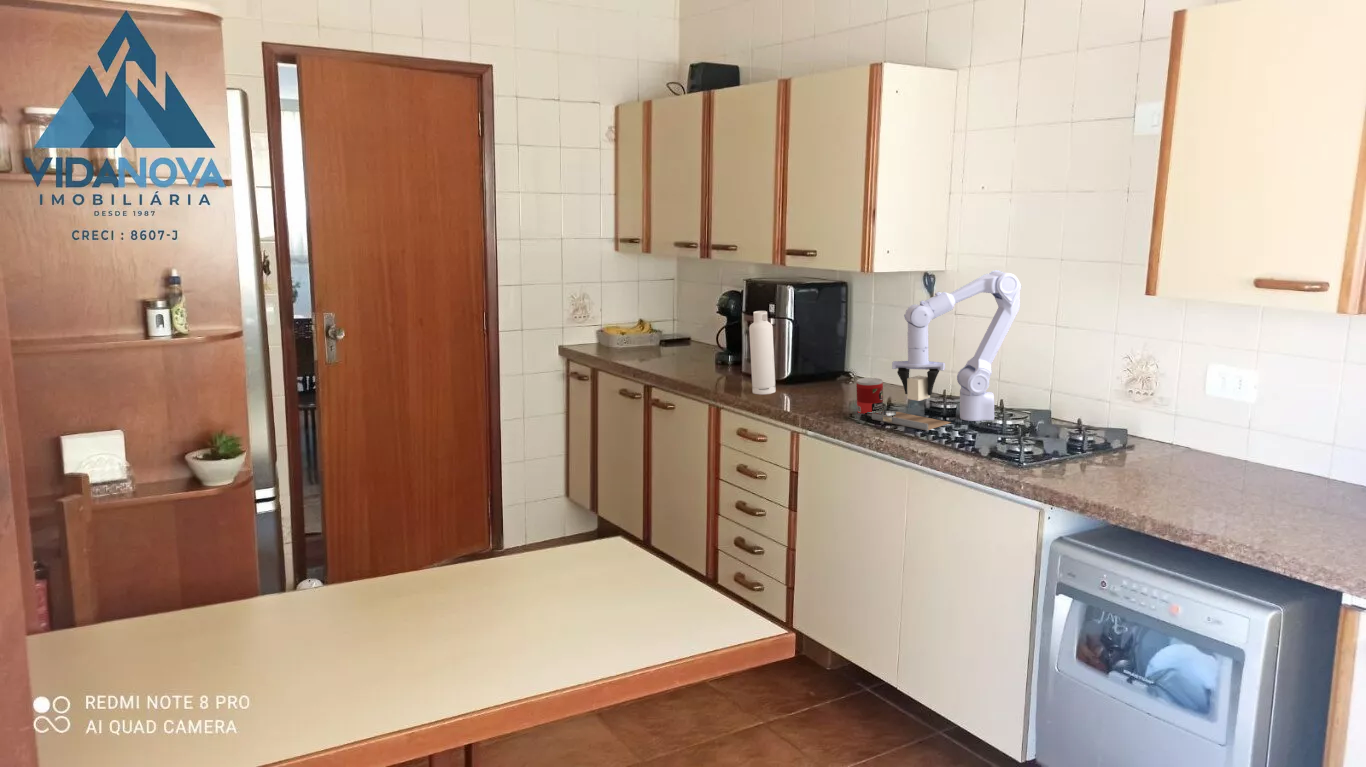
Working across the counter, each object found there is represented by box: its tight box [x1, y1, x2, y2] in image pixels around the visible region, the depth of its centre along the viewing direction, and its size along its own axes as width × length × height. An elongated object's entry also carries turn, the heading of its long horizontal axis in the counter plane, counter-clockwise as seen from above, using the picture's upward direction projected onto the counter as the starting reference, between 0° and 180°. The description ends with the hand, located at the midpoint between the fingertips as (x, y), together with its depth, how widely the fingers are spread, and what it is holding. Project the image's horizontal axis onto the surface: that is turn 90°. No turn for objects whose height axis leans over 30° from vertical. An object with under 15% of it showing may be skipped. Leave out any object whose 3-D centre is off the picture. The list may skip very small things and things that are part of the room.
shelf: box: [871, 411, 952, 432], centre depth 273 cm, size 20×11×3 cm, turn 37°
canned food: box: [855, 377, 884, 415], centre depth 286 cm, size 8×8×11 cm
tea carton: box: [906, 374, 931, 402], centre depth 269 cm, size 5×4×6 cm
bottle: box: [748, 310, 776, 395], centre depth 325 cm, size 8×8×28 cm
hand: (918, 394), depth 269 cm, fingers closed on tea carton, 6 cm apart
